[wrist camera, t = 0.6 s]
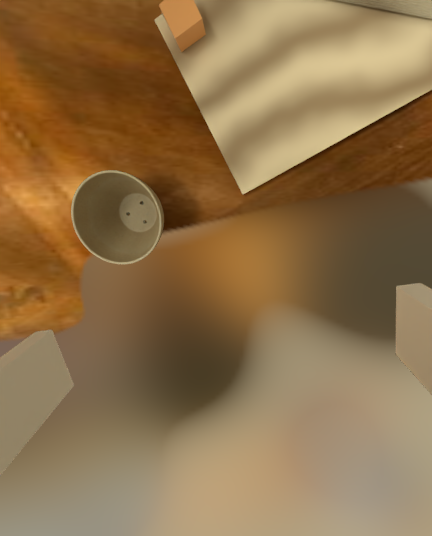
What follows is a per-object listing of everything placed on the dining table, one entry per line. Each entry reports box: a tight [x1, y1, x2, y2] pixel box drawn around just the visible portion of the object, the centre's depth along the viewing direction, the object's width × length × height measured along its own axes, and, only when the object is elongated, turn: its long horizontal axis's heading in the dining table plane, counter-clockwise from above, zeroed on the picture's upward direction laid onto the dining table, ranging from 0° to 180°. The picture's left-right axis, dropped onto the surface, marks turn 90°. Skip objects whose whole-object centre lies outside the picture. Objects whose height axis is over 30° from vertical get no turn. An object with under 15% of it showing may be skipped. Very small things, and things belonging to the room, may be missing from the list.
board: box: [155, 0, 432, 194], centre depth 27 cm, size 20×36×1 cm, turn 119°
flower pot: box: [71, 170, 164, 264], centre depth 32 cm, size 10×10×7 cm
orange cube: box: [159, 0, 206, 52], centre depth 27 cm, size 3×3×3 cm
